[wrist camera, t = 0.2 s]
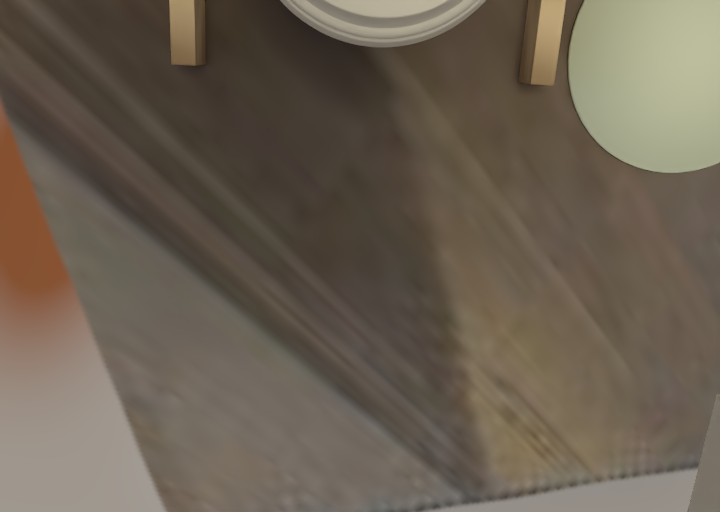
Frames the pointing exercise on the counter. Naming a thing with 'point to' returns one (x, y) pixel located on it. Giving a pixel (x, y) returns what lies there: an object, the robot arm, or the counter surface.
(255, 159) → the counter surface
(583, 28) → the coaster
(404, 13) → the coffee cup
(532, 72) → the shelf bay
